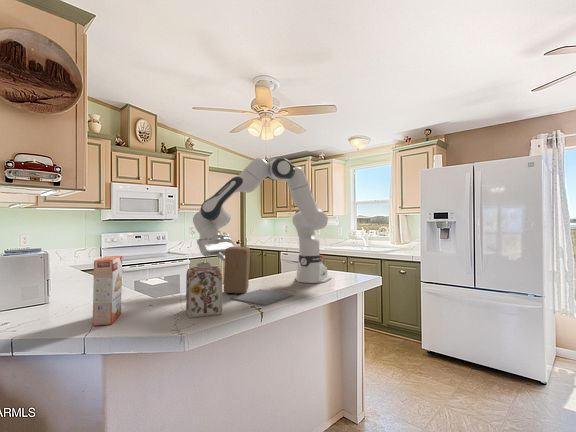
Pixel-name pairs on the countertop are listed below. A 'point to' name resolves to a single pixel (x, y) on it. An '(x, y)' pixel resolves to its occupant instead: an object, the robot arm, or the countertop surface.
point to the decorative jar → (203, 290)
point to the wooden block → (236, 269)
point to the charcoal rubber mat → (261, 297)
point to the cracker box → (107, 290)
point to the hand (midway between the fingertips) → (226, 260)
